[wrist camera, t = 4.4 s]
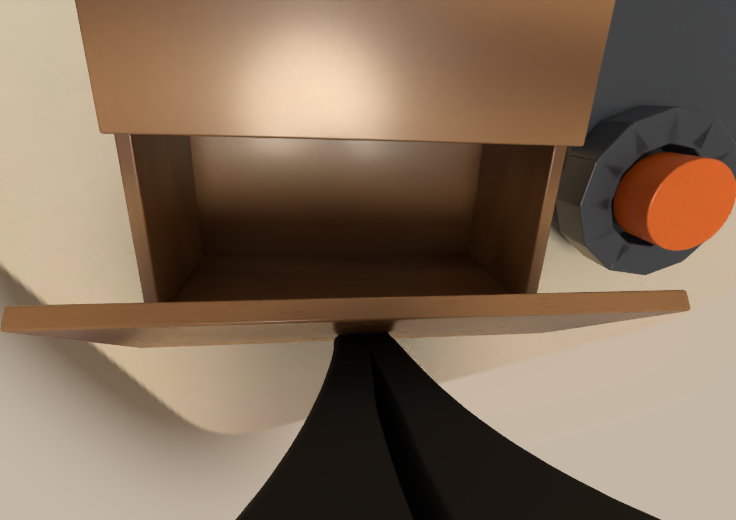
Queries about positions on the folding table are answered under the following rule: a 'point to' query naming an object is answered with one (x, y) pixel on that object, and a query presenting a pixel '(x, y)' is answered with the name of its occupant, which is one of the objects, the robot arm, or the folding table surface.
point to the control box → (650, 118)
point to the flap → (334, 317)
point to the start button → (675, 199)
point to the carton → (342, 140)
